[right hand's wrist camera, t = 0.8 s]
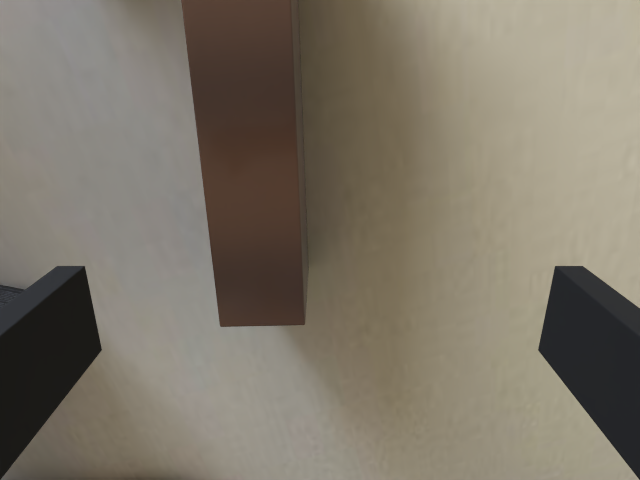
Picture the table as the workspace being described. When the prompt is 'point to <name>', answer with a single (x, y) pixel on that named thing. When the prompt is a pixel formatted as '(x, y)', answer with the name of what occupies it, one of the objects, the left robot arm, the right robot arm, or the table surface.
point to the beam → (251, 155)
